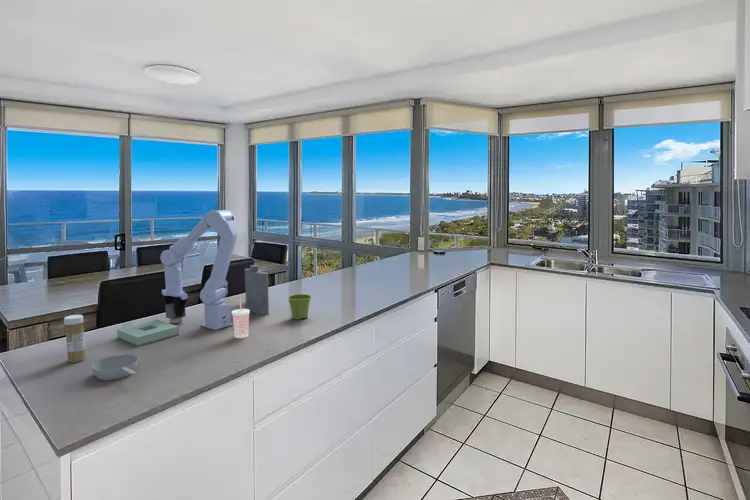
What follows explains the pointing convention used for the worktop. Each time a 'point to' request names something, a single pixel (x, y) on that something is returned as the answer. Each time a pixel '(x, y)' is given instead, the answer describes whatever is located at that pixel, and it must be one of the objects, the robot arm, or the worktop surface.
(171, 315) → the plug
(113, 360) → the small pan
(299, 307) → the plant pot
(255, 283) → the hip flask
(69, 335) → the sprinkles bottle
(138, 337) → the socket block
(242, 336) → the beverage cup
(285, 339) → the worktop surface
